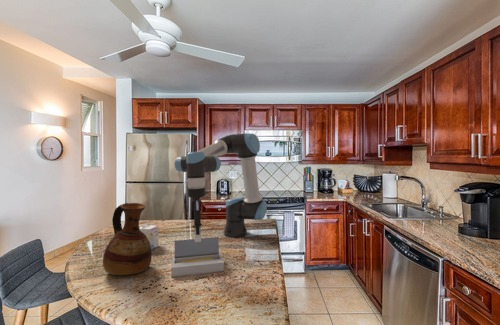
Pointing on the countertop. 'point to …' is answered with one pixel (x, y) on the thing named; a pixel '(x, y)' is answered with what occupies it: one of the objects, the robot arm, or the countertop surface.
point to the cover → (196, 247)
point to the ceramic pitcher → (127, 243)
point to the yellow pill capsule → (196, 260)
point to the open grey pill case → (197, 265)
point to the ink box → (150, 233)
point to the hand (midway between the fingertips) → (197, 241)
